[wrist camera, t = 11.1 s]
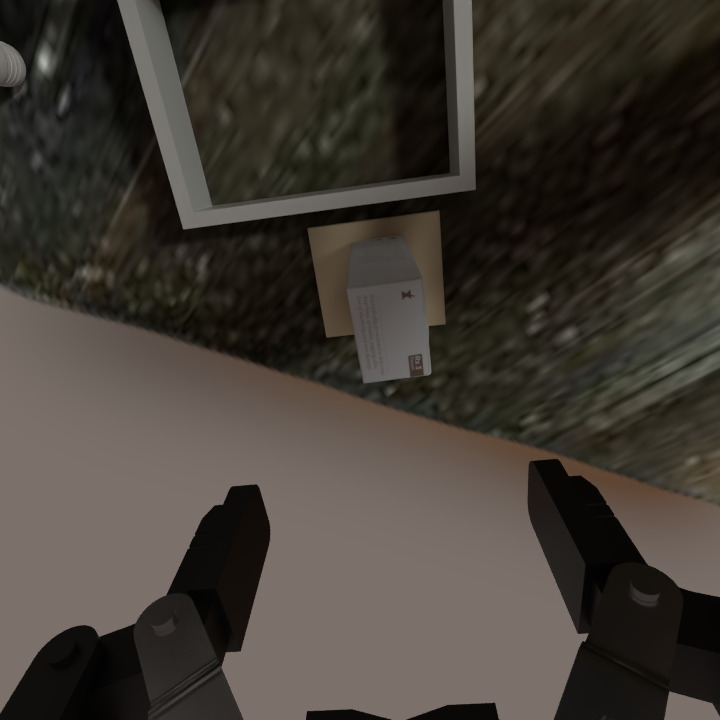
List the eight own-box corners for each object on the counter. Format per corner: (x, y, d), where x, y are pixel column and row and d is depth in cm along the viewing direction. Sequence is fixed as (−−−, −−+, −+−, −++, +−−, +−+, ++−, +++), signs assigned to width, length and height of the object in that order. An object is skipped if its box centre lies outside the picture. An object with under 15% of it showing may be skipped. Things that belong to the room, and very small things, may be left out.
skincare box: (348, 241, 34) (338, 284, 24) (406, 232, 34) (423, 272, 23) (360, 316, 37) (356, 387, 26) (415, 309, 37) (433, 377, 26)
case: (455, -81, 27) (469, -117, 23) (464, 185, 33) (475, 189, 30) (137, -23, 28) (103, -48, 25) (203, 221, 35) (183, 229, 31)
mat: (438, 210, 34) (439, 211, 33) (444, 321, 38) (445, 323, 37) (308, 227, 35) (307, 228, 34) (326, 335, 38) (326, 337, 38)
